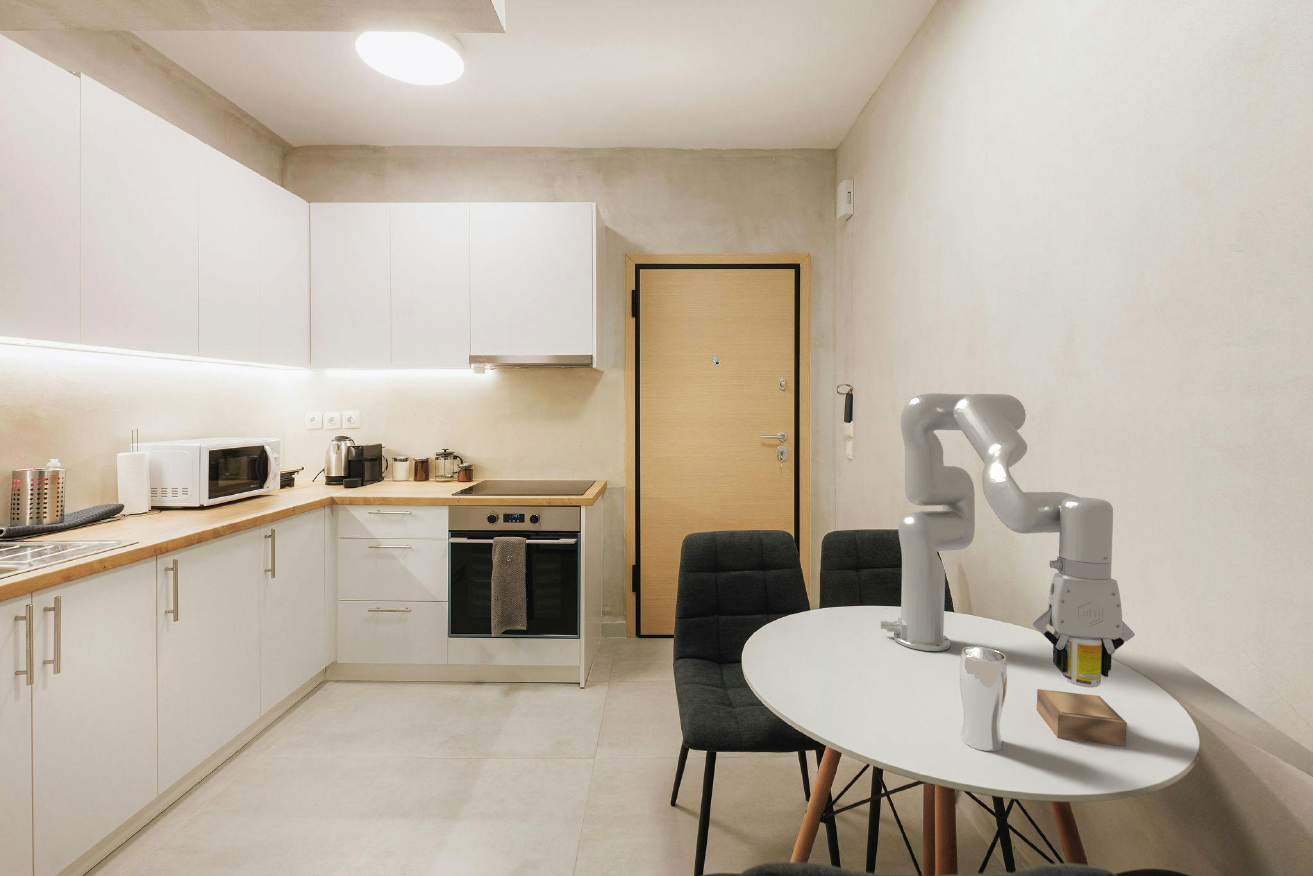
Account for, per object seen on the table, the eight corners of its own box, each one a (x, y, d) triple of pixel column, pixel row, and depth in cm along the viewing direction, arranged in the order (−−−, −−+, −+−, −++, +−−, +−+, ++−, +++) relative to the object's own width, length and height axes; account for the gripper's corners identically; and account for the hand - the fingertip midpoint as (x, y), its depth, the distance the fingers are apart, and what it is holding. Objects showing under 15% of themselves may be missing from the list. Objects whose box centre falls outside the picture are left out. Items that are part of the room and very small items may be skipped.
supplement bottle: (1107, 685, 105) (1109, 626, 104) (1088, 691, 102) (1090, 631, 102) (1073, 673, 110) (1075, 617, 109) (1054, 678, 107) (1056, 621, 107)
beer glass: (949, 731, 105) (951, 646, 104) (987, 730, 105) (990, 645, 105) (973, 754, 98) (976, 662, 97) (1014, 752, 98) (1017, 661, 98)
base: (1057, 737, 103) (1058, 713, 103) (1036, 710, 113) (1037, 688, 112) (1125, 746, 100) (1126, 721, 100) (1098, 717, 110) (1099, 695, 110)
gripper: (1036, 570, 104) (1033, 674, 105) (1153, 578, 100) (1150, 686, 100) (1022, 561, 111) (1019, 658, 112) (1130, 567, 107) (1127, 668, 107)
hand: (1081, 670), depth 106 cm, fingers closed on supplement bottle, 5 cm apart
